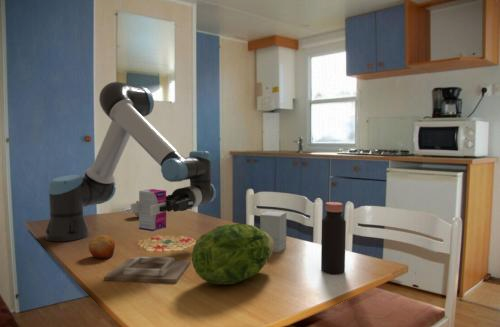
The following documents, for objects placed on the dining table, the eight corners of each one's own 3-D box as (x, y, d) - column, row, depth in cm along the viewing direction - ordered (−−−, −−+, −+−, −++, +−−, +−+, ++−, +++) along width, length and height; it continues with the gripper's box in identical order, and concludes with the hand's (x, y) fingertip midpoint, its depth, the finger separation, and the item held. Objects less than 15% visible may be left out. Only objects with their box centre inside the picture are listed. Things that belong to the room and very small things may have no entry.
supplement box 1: (153, 231, 113) (152, 192, 112) (138, 229, 116) (137, 190, 115) (167, 227, 118) (166, 189, 117) (152, 225, 121) (151, 188, 120)
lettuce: (288, 273, 113) (289, 220, 112) (220, 300, 94) (220, 237, 93) (251, 261, 124) (251, 213, 123) (182, 284, 104) (182, 227, 103)
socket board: (104, 280, 107) (104, 271, 107) (127, 261, 123) (127, 253, 123) (176, 283, 105) (176, 273, 105) (190, 263, 121) (190, 255, 121)
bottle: (340, 276, 111) (341, 206, 110) (317, 272, 115) (318, 203, 113) (347, 269, 117) (349, 202, 115) (326, 265, 120) (327, 200, 119)
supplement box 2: (286, 247, 140) (287, 212, 139) (279, 253, 133) (279, 216, 132) (267, 244, 143) (267, 210, 142) (259, 250, 136) (259, 214, 135)
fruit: (124, 248, 132) (115, 231, 127) (111, 267, 126) (101, 249, 121) (104, 246, 134) (95, 229, 130) (90, 264, 128) (80, 247, 124)
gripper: (210, 211, 129) (169, 226, 108) (162, 207, 137) (115, 219, 116) (210, 188, 129) (169, 199, 108) (162, 185, 137) (114, 194, 115)
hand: (141, 209), depth 112 cm, fingers closed on supplement box 1, 6 cm apart
